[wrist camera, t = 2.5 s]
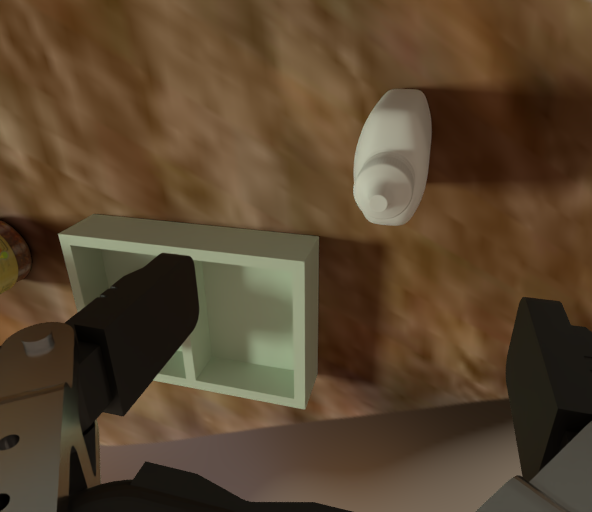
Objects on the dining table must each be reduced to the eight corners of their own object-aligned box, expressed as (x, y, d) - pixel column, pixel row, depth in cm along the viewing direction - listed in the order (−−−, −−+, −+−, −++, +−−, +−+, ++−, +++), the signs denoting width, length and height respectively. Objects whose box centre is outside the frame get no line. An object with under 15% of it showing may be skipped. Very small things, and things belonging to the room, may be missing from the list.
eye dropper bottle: (347, 157, 30) (296, 230, 20) (396, 74, 27) (367, 107, 17) (406, 193, 30) (387, 285, 20) (462, 114, 27) (474, 172, 17)
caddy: (93, 213, 37) (-45, 290, 27) (318, 236, 33) (260, 338, 22) (120, 340, 43) (13, 445, 32) (317, 374, 38) (269, 509, 28)
